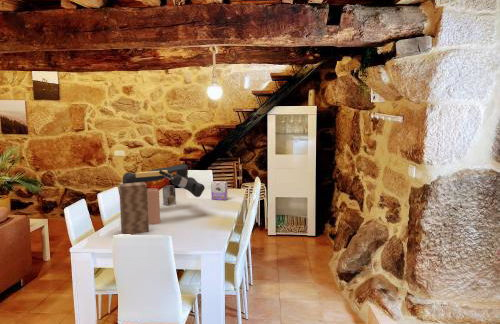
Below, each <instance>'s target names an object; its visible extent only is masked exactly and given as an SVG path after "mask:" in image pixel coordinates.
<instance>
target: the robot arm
mask: <svg viewBox="0 0 500 324" xmlns="http://www.w3.org/2000/svg"><path fill="white" fill-rule="evenodd" d="M188 166H189V165H187V164H185V163H183V164H182V163H181V164H177V165H176V164H175V165H171V166H166V167H160V168H155V169H149V170H148V171H146V172H150V171H159V173H160V174H162V176H150V177H138V178H136V173H133V172H129V171H128V172H125V173H124V174H123V176H122V184H126V183H137V182H144V183H149V182H157V181H162V180H164V179H168V180H169V181H171V185H172V184H173V185H174V186H177V187H178V188H182V189H183V190H186V191H188V192H189V193H191V195H193V197H195V198H200V197H201V195H202V194H203V192H204V190H205V185H204V184H203V183H201V182H198V181H197V180H196V179H195V178H193V177H191V176H189V167H188ZM163 170H167V171H168V173H165V172H163ZM172 173H175V174H172Z"/></svg>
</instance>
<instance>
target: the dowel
mask: <svg viewBox="0 0 500 324" xmlns="http://www.w3.org/2000/svg"><path fill="white" fill-rule="evenodd" d="M163 172H165V173H168V171H167V170H163ZM135 174H136V178H138V177H150V176H162V174H160V173H159V171H150V172H147V171H141V172H140V171H139V172H135Z"/></svg>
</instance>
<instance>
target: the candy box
mask: <svg viewBox="0 0 500 324" xmlns="http://www.w3.org/2000/svg"><path fill="white" fill-rule="evenodd" d="M210 184H211V186H210V187H211V188H210V189H211V190H210V191H211V192H210V193H211V200H212V201H227V200H228V197H229V196H228V193H229V192H228V181H223V180H222V181H220V180H218V181H217V180H215V181H214V180H212V181H211V182H210Z"/></svg>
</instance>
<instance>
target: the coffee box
mask: <svg viewBox="0 0 500 324" xmlns="http://www.w3.org/2000/svg"><path fill="white" fill-rule="evenodd" d="M176 204H177V200H176V185H174V184H173V185H172V184H169V185H168V184H167V185H165V186H162V205H163V206H167V207H170V206H173V205H176Z"/></svg>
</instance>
